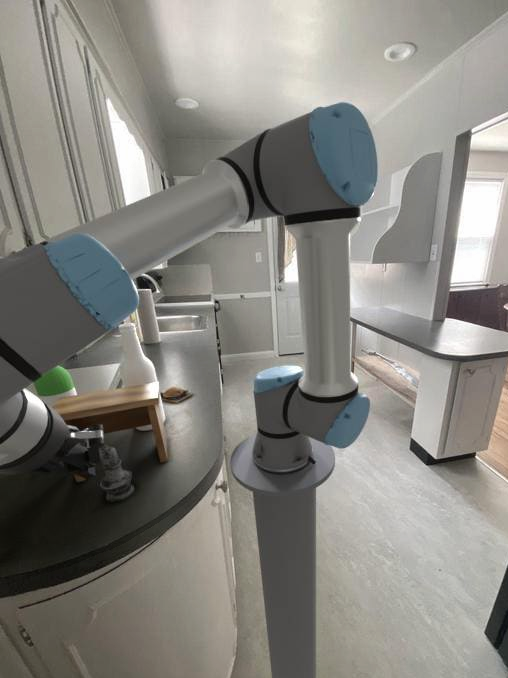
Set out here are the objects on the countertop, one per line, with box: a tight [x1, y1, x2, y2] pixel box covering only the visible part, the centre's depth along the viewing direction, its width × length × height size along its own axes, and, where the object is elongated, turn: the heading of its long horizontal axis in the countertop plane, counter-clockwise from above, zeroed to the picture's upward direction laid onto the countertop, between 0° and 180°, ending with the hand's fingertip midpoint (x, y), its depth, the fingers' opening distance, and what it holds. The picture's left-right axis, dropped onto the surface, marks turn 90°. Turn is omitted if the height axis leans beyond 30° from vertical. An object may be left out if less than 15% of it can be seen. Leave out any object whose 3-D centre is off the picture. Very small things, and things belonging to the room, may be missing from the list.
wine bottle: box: [33, 365, 78, 408], centre depth 78 cm, size 8×8×30 cm
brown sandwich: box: [160, 386, 194, 404], centre depth 108 cm, size 11×8×4 cm
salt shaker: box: [99, 444, 135, 502], centre depth 62 cm, size 6×6×12 cm
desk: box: [52, 381, 169, 483], centre depth 72 cm, size 10×21×17 cm, turn 111°
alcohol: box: [117, 322, 166, 431], centre depth 85 cm, size 9×9×30 cm
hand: (89, 468), depth 49 cm, fingers closed
